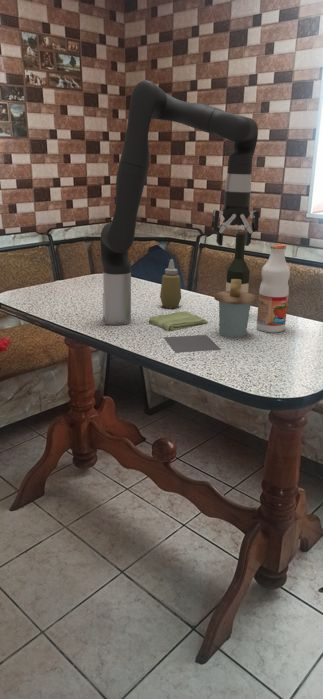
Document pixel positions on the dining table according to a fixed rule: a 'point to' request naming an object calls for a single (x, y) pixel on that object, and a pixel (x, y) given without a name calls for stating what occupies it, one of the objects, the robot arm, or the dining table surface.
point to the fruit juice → (274, 291)
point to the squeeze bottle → (170, 287)
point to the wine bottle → (238, 265)
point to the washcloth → (177, 320)
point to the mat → (191, 343)
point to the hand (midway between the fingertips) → (233, 245)
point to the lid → (235, 294)
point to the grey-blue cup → (233, 319)
